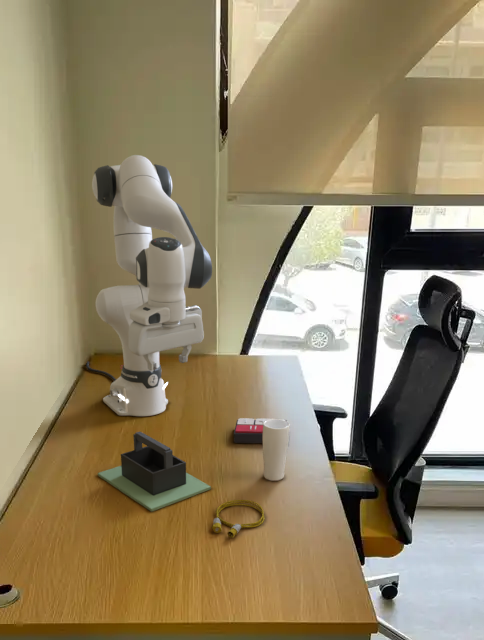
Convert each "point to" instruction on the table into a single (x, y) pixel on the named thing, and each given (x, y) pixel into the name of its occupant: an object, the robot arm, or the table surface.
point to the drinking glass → (275, 448)
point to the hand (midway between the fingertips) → (167, 365)
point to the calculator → (249, 430)
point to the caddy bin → (153, 466)
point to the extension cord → (235, 527)
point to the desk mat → (145, 498)
